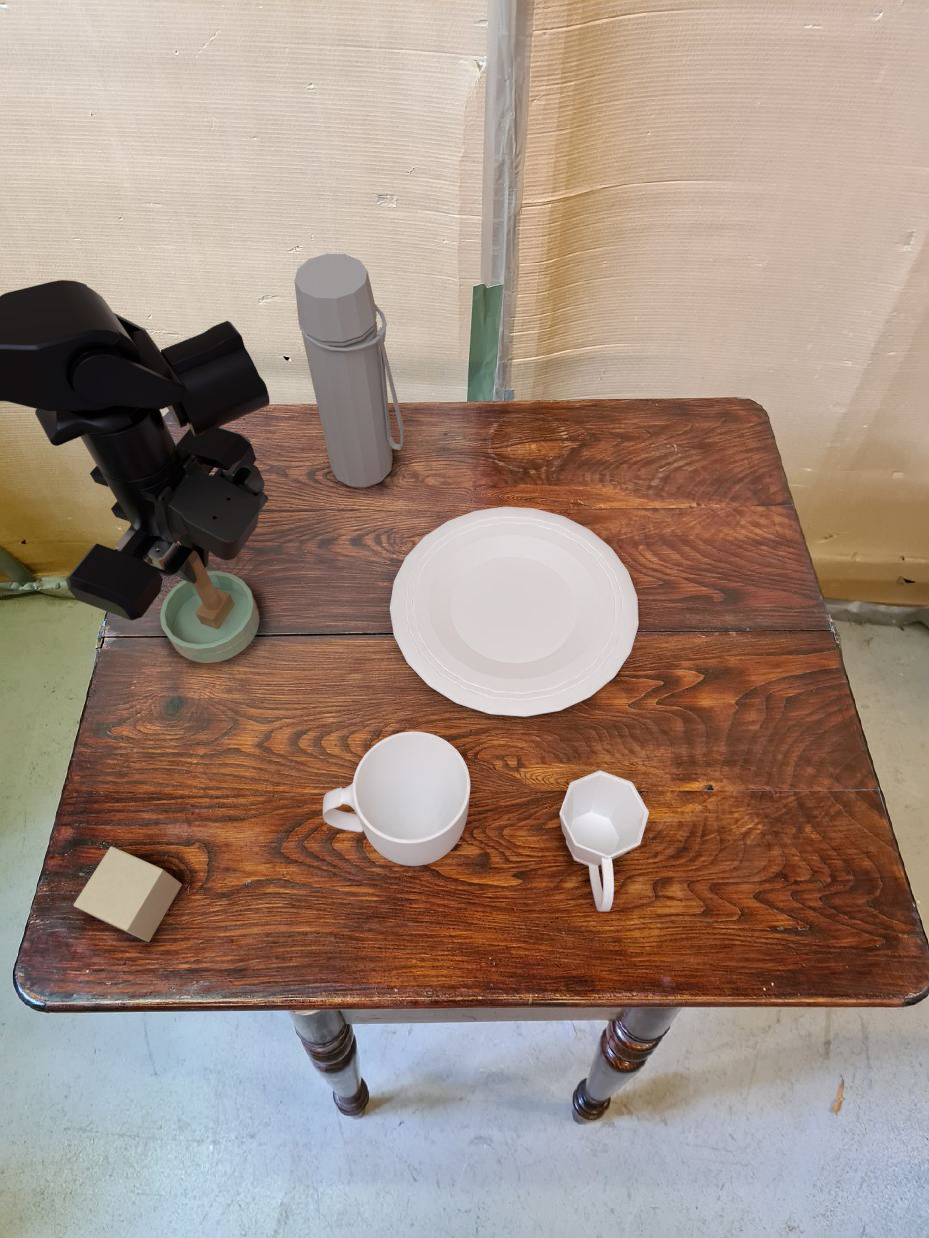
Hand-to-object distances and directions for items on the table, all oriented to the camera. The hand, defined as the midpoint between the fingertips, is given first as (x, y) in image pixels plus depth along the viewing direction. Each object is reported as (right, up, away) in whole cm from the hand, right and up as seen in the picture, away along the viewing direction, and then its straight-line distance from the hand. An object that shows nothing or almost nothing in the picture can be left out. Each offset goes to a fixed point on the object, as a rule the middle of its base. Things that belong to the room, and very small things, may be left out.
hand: (196, 573), depth 72 cm
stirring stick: (0, -4, +6) cm, 7 cm away
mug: (+19, -23, -3) cm, 30 cm away
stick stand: (-3, -28, -6) cm, 29 cm away
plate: (+29, -4, +9) cm, 31 cm away
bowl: (-1, -5, +8) cm, 10 cm away
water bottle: (+13, +13, +19) cm, 27 cm away
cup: (+35, -25, -4) cm, 43 cm away
